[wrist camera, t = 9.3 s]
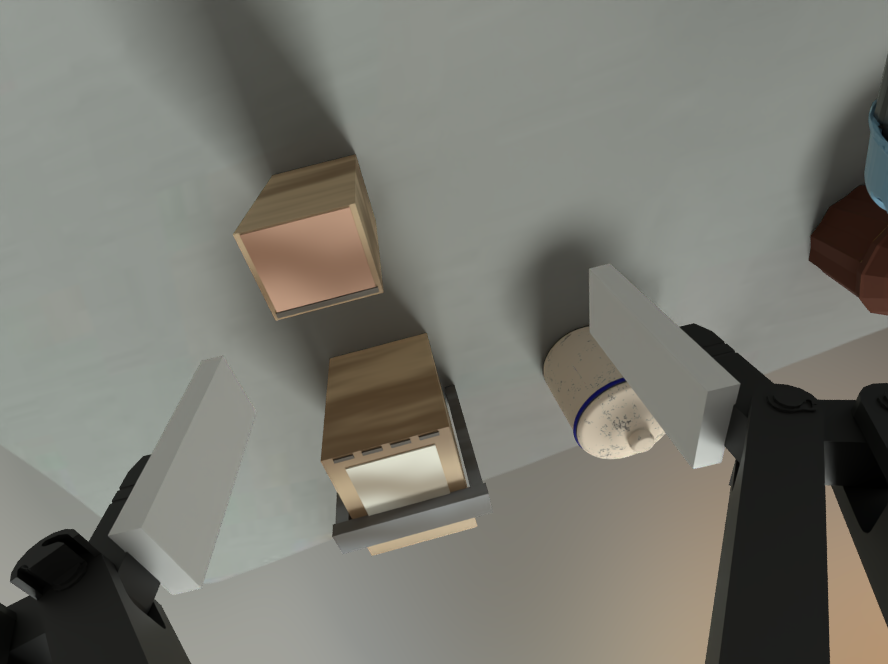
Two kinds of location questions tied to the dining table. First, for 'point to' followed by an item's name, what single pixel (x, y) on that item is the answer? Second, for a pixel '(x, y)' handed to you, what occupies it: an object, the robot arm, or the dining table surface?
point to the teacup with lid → (598, 399)
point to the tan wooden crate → (397, 450)
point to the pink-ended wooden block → (312, 239)
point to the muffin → (855, 248)
